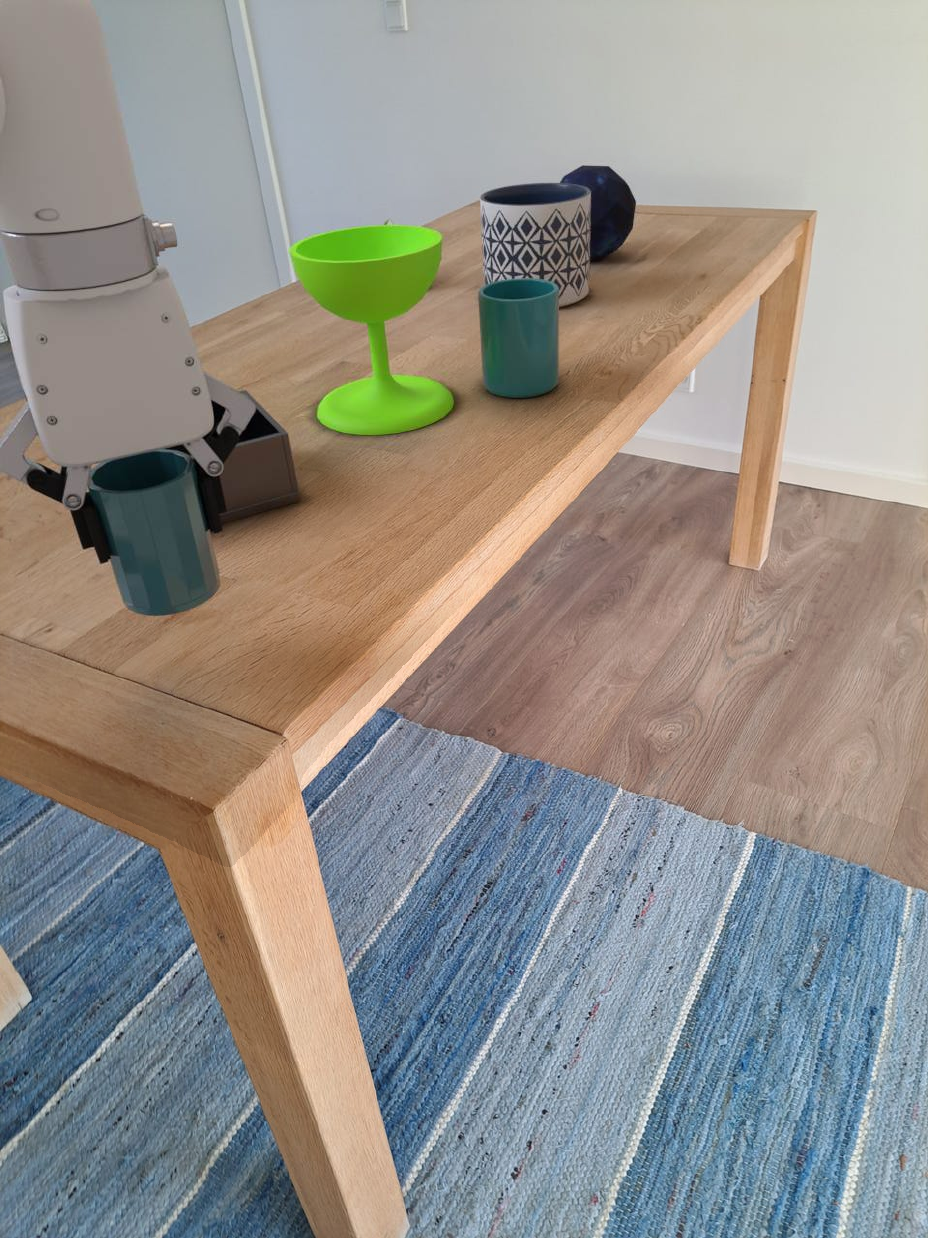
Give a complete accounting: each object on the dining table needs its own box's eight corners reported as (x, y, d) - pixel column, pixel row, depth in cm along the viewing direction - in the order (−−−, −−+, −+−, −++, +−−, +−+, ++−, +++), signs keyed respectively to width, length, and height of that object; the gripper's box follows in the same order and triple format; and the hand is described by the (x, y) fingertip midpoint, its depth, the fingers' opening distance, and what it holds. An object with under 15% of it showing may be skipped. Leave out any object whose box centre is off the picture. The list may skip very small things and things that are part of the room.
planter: (468, 308, 132) (462, 203, 124) (505, 279, 144) (502, 181, 135) (571, 314, 126) (572, 205, 118) (601, 283, 138) (604, 182, 130)
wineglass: (369, 374, 112) (349, 221, 101) (479, 391, 105) (470, 229, 94) (288, 421, 101) (257, 256, 90) (404, 444, 94) (385, 267, 83)
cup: (571, 365, 110) (572, 271, 103) (548, 402, 101) (547, 301, 94) (502, 361, 113) (498, 269, 106) (473, 397, 103) (467, 299, 97)
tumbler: (133, 627, 58) (95, 503, 53) (114, 581, 63) (78, 463, 57) (232, 597, 60) (204, 476, 55) (206, 556, 65) (179, 441, 60)
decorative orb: (608, 241, 138) (634, 146, 137) (522, 235, 145) (547, 144, 144) (633, 279, 151) (657, 192, 150) (553, 272, 157) (575, 189, 157)
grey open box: (141, 547, 80) (118, 476, 75) (114, 490, 89) (93, 425, 85) (300, 500, 85) (287, 432, 81) (259, 452, 95) (245, 389, 90)
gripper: (218, 225, 55) (266, 486, 65) (-93, 267, 49) (14, 550, 59) (254, 245, 49) (300, 528, 60) (-92, 296, 43) (26, 603, 53)
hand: (157, 537), depth 59 cm, fingers closed on tumbler, 6 cm apart
